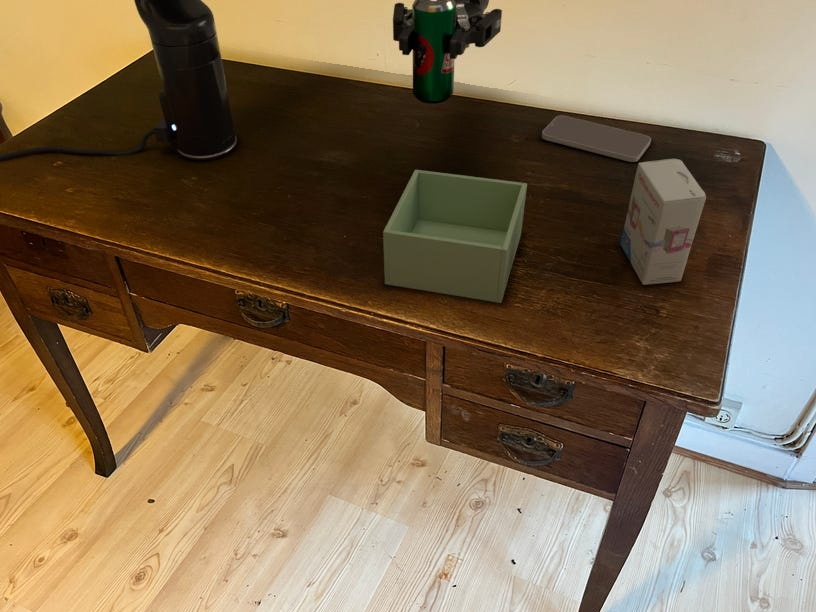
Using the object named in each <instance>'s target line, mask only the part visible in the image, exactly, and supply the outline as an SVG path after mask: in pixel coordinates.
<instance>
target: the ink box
mask: <svg viewBox="0 0 816 612" xmlns="http://www.w3.org/2000/svg"><path fill="white" fill-rule="evenodd" d="M706 199H707V196H706V193H705V191H704V190H703V188H702V187H701V186H700V184H699V183H698V182H697V180H696V179H695V177H694V176H693V175H692V173H691V172H690V171H689V169H688V168H687V166H686V165H685V163H684V162H683V161H682V160H681V159H677V158H668V159H667V158H665V159H658V160H657V159H656V160H650V161H643V162H638V164H637V168H636V172H635V176H634V180H633V186H632V190H631V195H630V199H629V204H628V208H627V212H626V218H625V222H624V227H623V231H622V235H621V240H620V244H619V245H620V247H621V249H622V251H623V252H624V254H625V256H626V257H627V260H628V261H629V263H630V264H631V266H632V269H633V270H634V272H635V274H636V275H637V277H638V279H639V281H640V282H641V284H642V285H643V286H645V285H646V286H647V285H658V284H667V283H668V284H669V283H678V282H681V281H682V280H683V279H682V278H683V275H684V271H685V268H686V265H687V263H688V259H689V255H690V252H691V250H692V245H693V242H694V238H695V236H696V233H697V229H698V225H699V223H700V218H701V215H702V212H703V209H704V206H705V203H706Z"/></svg>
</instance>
